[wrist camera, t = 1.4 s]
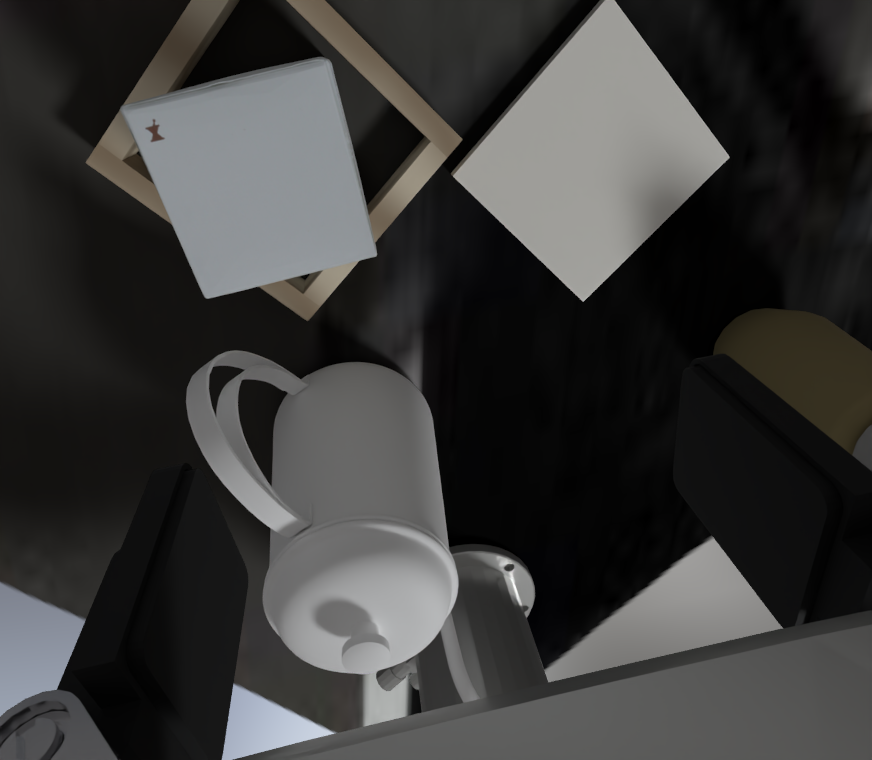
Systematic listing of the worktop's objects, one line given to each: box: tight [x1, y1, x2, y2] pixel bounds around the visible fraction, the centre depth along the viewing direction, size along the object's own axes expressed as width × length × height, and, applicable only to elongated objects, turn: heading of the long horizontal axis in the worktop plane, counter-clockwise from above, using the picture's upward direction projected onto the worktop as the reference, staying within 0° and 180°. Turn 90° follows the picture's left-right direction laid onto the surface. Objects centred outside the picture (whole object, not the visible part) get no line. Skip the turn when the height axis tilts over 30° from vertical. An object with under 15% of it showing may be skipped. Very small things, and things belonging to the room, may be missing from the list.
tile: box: [451, 0, 729, 302], centre depth 35 cm, size 12×12×1 cm
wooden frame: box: [86, 0, 463, 321], centre depth 31 cm, size 13×13×2 cm
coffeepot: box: [186, 350, 480, 703], centre depth 34 cm, size 11×25×19 cm, turn 34°
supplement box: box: [120, 57, 377, 299], centre depth 27 cm, size 7×7×13 cm
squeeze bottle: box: [713, 308, 872, 471], centre depth 35 cm, size 8×8×18 cm
